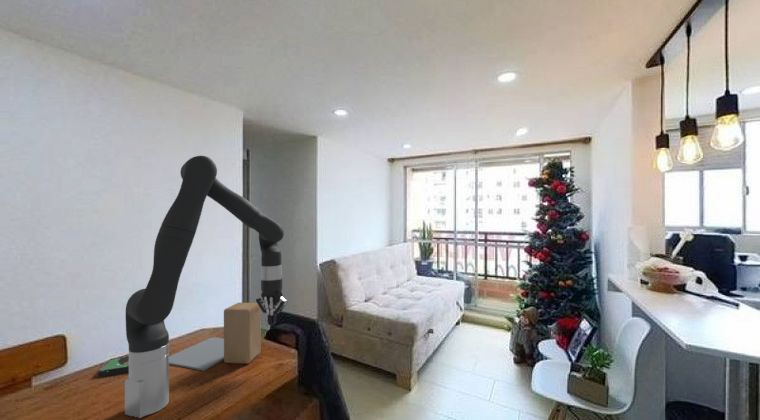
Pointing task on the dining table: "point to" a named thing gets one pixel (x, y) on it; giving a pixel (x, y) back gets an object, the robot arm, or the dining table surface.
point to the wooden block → (242, 333)
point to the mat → (200, 355)
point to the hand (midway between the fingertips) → (272, 324)
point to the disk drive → (115, 367)
